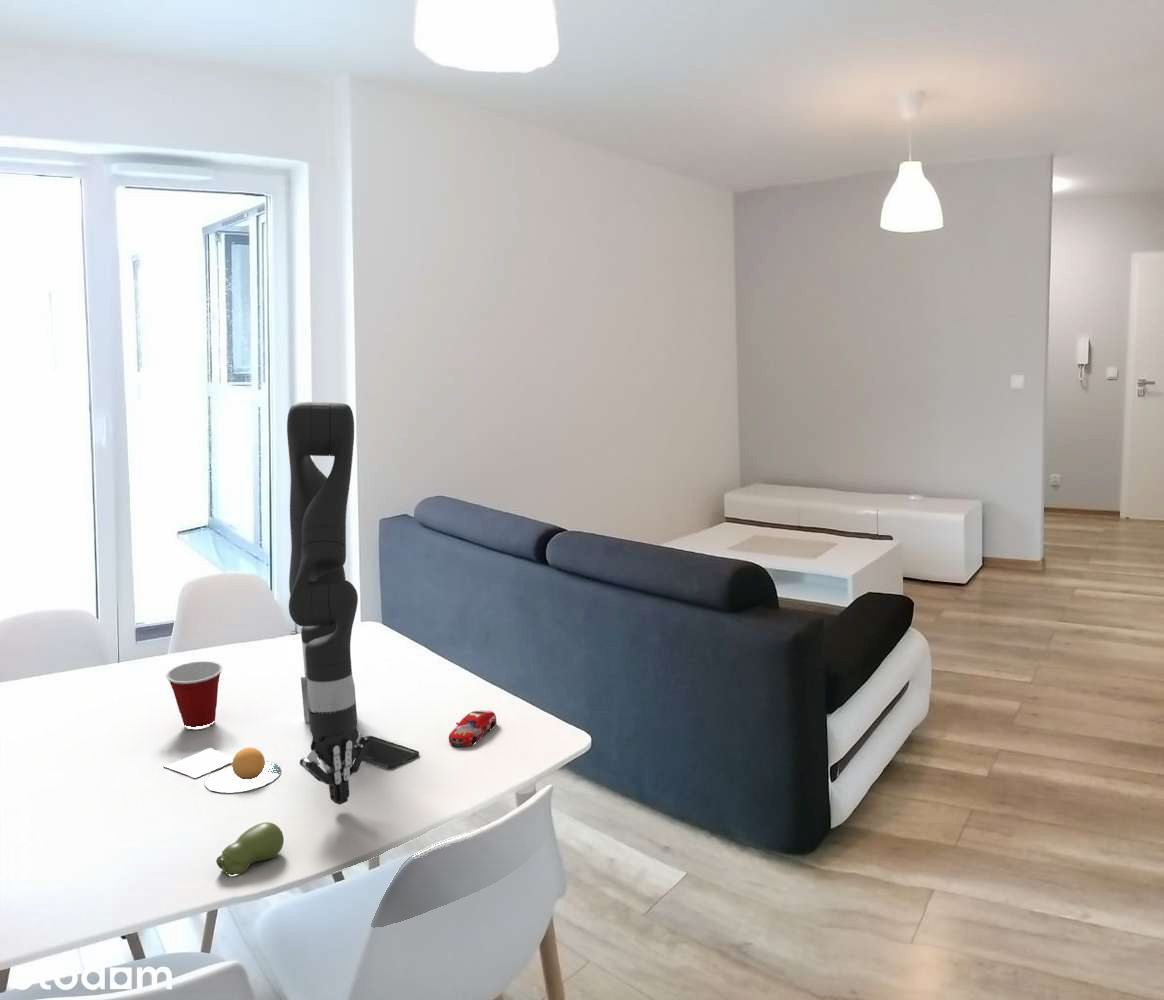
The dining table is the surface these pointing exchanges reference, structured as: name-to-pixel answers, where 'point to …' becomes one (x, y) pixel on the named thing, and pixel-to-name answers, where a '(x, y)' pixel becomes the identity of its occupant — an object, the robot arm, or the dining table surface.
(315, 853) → the dining table surface
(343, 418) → the robot arm
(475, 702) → the dining table surface
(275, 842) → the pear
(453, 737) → the race car
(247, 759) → the ball
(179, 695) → the plastic cup
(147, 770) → the dining table surface
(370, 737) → the phone
